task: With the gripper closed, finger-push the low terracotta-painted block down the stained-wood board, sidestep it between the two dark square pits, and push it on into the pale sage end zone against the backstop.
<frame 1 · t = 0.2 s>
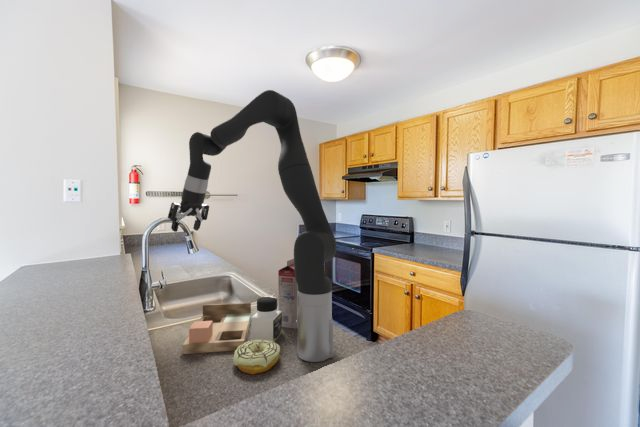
hand: (185, 230, 103), 31 cm above the countertop, tool tilted 20°, fingers open, 8 cm apart
block: (201, 338, 78), point 2 cm above the countertop, touching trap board
juice carton: (291, 324, 95), on the countertop
garlic bulb: (268, 312, 106), on the countertop
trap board: (221, 334, 87), on the countertop
medicine bottle: (266, 337, 85), on the countertop
decorated donut: (257, 363, 71), on the countertop
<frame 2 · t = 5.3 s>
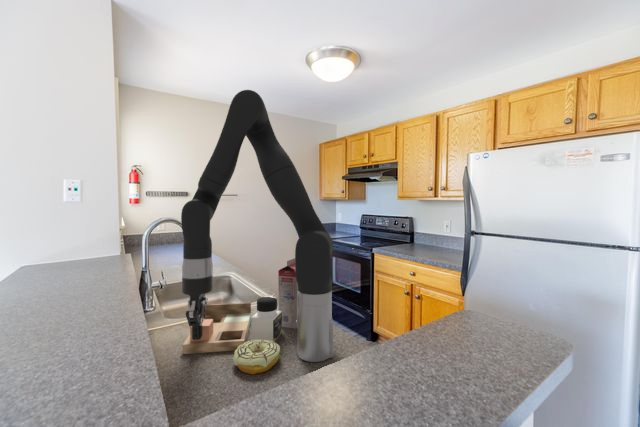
hand: (197, 338, 75), 4 cm above the countertop, tool pointing down, fingers closed
block: (202, 336, 79), point 3 cm above the countertop, touching gripper, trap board
everything else where it was.
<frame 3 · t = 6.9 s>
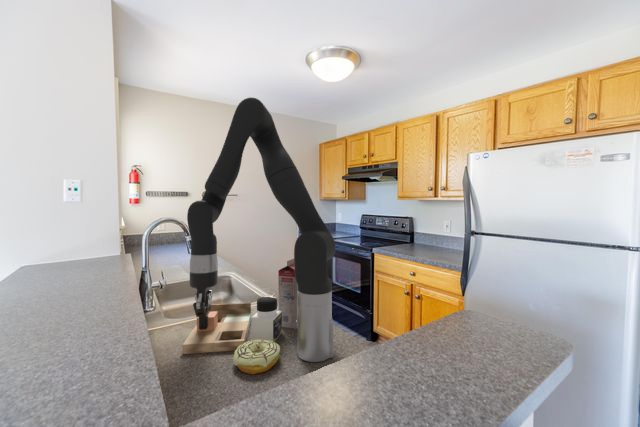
hand: (203, 328, 81), 4 cm above the countertop, tool pointing down, fingers closed
block: (207, 327, 86), point 2 cm above the countertop, touching gripper, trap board
everything else where it was.
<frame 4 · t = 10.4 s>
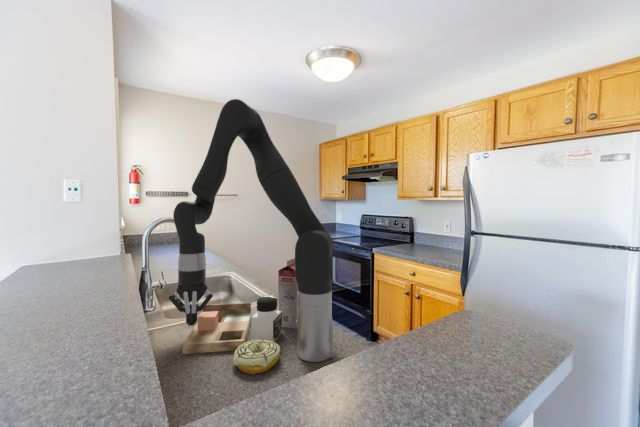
hand: (191, 324, 84), 4 cm above the countertop, tool pointing down, fingers closed
block: (208, 327, 86), point 3 cm above the countertop, touching gripper
everything else where it was.
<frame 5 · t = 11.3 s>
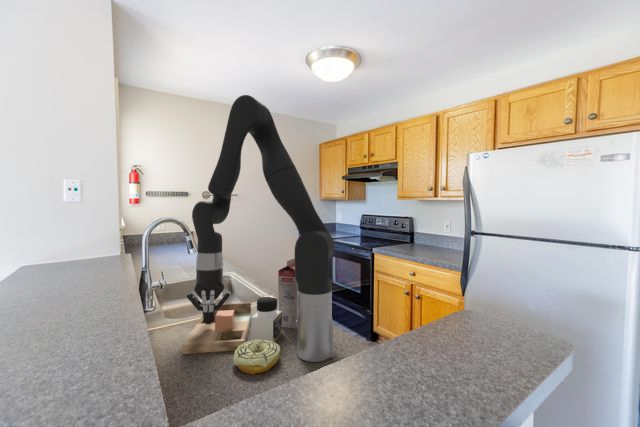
hand: (209, 323, 85), 4 cm above the countertop, tool pointing down, fingers closed
block: (225, 326, 87), point 3 cm above the countertop, touching gripper, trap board
everything else where it was.
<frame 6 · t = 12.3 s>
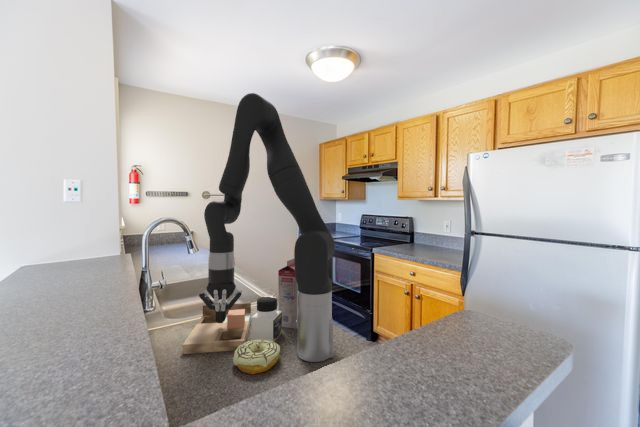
hand: (220, 322, 86), 4 cm above the countertop, tool pointing down, fingers closed
block: (236, 324, 88), point 2 cm above the countertop, touching gripper, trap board
everything else where it was.
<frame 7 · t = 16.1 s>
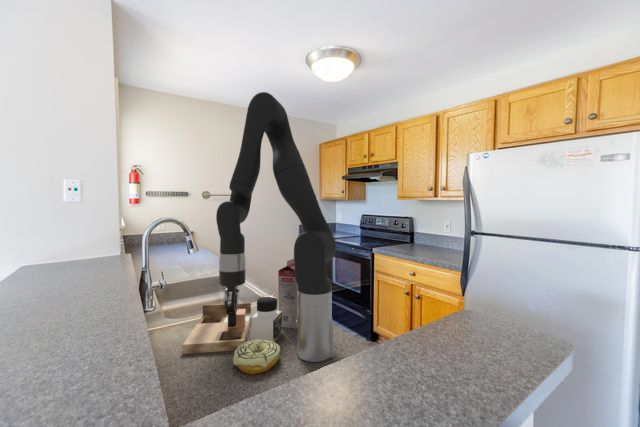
hand: (232, 325, 83), 4 cm above the countertop, tool pointing down, fingers closed
nothing on the countertop moved.
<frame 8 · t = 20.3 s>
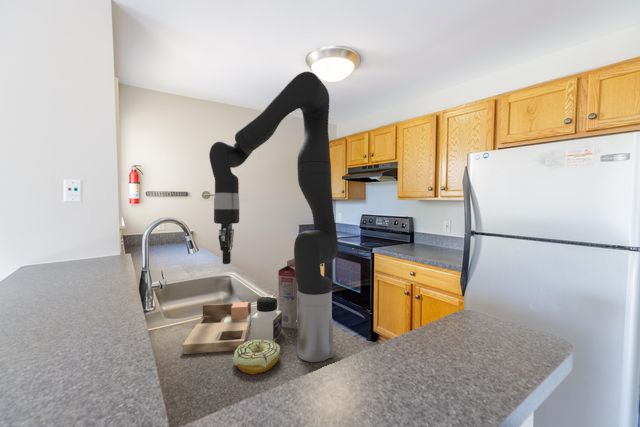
hand: (226, 263, 87), 22 cm above the countertop, tool pointing down, fingers closed
block: (240, 316, 95), point 2 cm above the countertop, touching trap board
everything else where it was.
at the end: block 0.9 cm from the target spot on the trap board, point 2.5 cm above the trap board's base; block tilted 0° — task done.
